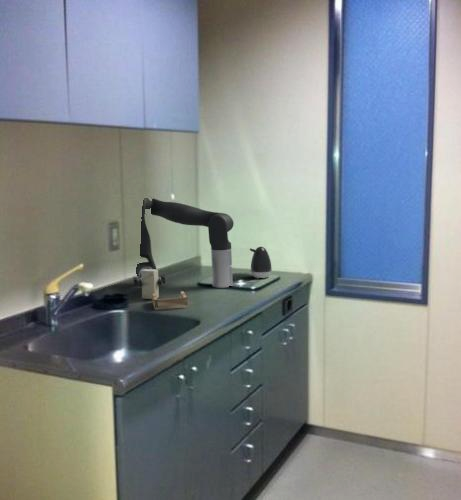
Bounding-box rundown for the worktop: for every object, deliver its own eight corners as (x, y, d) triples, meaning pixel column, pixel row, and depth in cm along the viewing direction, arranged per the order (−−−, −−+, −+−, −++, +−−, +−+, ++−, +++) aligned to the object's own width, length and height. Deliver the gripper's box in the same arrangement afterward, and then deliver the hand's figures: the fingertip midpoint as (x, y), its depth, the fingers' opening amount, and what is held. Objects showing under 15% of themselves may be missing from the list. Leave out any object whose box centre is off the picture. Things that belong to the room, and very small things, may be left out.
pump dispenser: (251, 275, 313) (250, 245, 311) (272, 275, 312) (271, 244, 310) (249, 279, 303) (248, 248, 301) (271, 279, 302) (270, 248, 300)
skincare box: (141, 298, 269) (140, 270, 267) (146, 296, 273) (145, 268, 271) (155, 299, 267) (153, 271, 265) (159, 296, 271) (158, 269, 269)
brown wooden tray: (152, 302, 264) (152, 293, 263) (183, 300, 266) (183, 290, 265) (155, 310, 251) (154, 300, 250) (187, 307, 253) (187, 297, 253)
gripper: (130, 269, 281) (132, 276, 265) (163, 266, 284) (166, 273, 268) (131, 285, 282) (133, 293, 266) (164, 283, 285) (167, 291, 269)
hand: (150, 283), depth 267 cm, fingers closed on skincare box, 7 cm apart
